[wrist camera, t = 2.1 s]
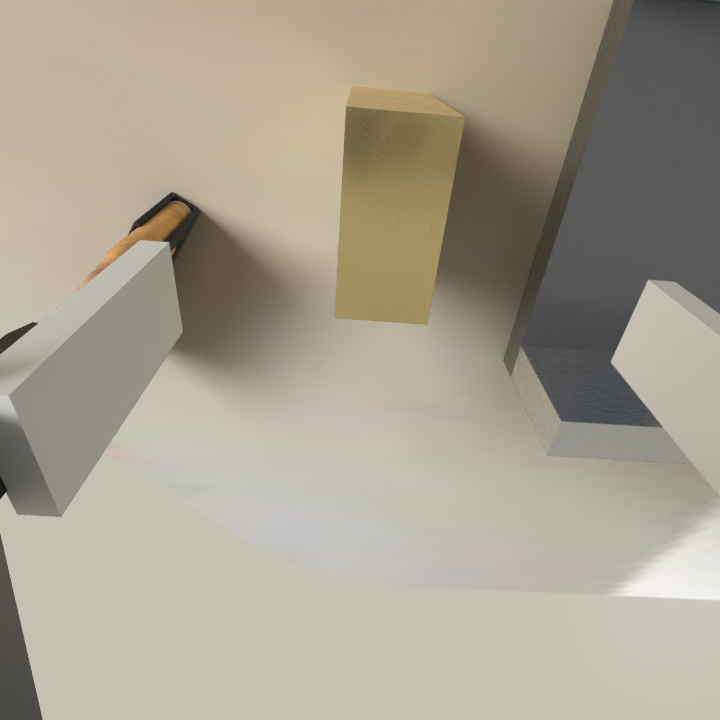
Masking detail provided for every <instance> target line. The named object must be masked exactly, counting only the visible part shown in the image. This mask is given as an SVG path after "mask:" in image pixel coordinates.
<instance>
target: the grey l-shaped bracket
mask: <svg viewBox="0 0 720 720" xmlns="http://www.w3.org/2000/svg"><path fill="white" fill-rule="evenodd" d="M648 280H659V281H671V282H676V283H677V284H679V285H680V286H682V287H683V288H684V289H686V290H687V291H689V292H690V293H691V294H693V295H694V296H695V297H697V298H698V299H700V300H701V301H702V302H704V303H705V304H706V305H708V306H709V307H711V308H712V309H713V310H715V311H716V312H718V313H719V314H720V2H718V1H709V0H614V2H613V5H612V8H611V12H610V15H609V18H608V21H607V25H606V28H605V31H604V34H603V38H602V41H601V44H600V47H599V51H598V54H597V57H596V60H595V64H594V67H593V70H592V73H591V77H590V80H589V83H588V87H587V90H586V93H585V96H584V100H583V103H582V106H581V109H580V113H579V116H578V119H577V122H576V126H575V129H574V132H573V135H572V139H571V142H570V145H569V148H568V152H567V155H566V158H565V161H564V165H563V168H562V171H561V174H560V178H559V181H558V184H557V187H556V191H555V194H554V197H553V200H552V204H551V207H550V210H549V214H548V217H547V220H546V223H545V227H544V230H543V233H542V236H541V240H540V243H539V246H538V249H537V253H536V256H535V259H534V262H533V266H532V269H531V272H530V275H529V279H528V282H527V285H526V288H525V292H524V295H523V298H522V301H521V305H520V308H519V311H518V314H517V318H516V321H515V324H514V327H513V331H512V334H511V337H510V341H509V344H508V347H507V350H506V354H505V357H504V360H503V361H504V363H505V365H506V367H507V369H508V372H509V374H510V376H511V378H512V380H513V383H514V385H515V387H516V389H517V391H518V394H519V396H520V398H521V400H522V402H523V405H524V407H525V409H526V411H527V413H528V415H529V418H530V420H531V422H532V424H533V426H534V429H535V431H536V433H537V435H538V437H539V440H540V442H541V444H542V446H543V448H544V451H545V453H546V455H547V456H563V457H580V458H597V459H614V460H631V461H648V462H665V463H682V464H693V463H692V462H691V461H690V460H689V459H688V457H687V456H686V455H685V454H684V452H683V451H682V450H681V449H680V447H679V446H678V445H677V444H676V442H675V441H674V440H673V439H672V437H671V436H670V435H669V434H668V433H667V431H666V430H665V429H664V428H663V426H662V425H661V424H660V423H659V421H658V420H657V419H656V418H655V416H654V415H653V414H652V413H651V411H650V410H649V409H648V408H647V407H646V405H645V404H644V403H643V402H642V400H641V399H640V398H639V397H638V395H637V394H636V393H635V392H634V390H633V389H632V388H631V387H630V385H629V384H628V383H627V382H626V381H625V379H624V378H623V377H622V376H621V374H620V373H619V372H618V371H617V369H616V368H615V367H614V366H613V364H612V363H611V360H612V358H613V356H614V354H615V351H616V349H617V347H618V345H619V343H620V340H621V338H622V336H623V334H624V332H625V329H626V327H627V325H628V323H629V321H630V319H631V316H632V314H633V312H634V310H635V308H636V305H637V303H638V301H639V299H640V297H641V294H642V292H643V290H644V288H645V286H646V284H647V281H648Z"/></svg>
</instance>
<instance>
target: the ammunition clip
mask: <svg viewBox="0 0 720 720" xmlns="http://www.w3.org/2000/svg"><path fill="white" fill-rule="evenodd" d="M199 213H200V211H199V209H197V208H196V207H194V206H193V205H191V204H190V203H188V202H187V201H185V200H184V199H182V198H181V197H179V196H177V195H176V194H174V193H173V192H172V193H170V194H169V195H167V196H166V197H165V198H164V199H162V200H161V201H160V202H159V203H157V204H156V205H155V206H154V207H152V208H151V209H150V210H149V211H148V212H146V213H145V214H144V215H143V216H141V217H140V218H139V219H138V220H136V221H135V222H134V223H133V225H132V228H131V230H130V232H129V234H128V236H126V237H125V238H124V239H123V240H122V241H120V242H119V243H118V244H117V245H115V246H114V247H113V248H112V249H111V250H110V251H109V252H108V253H107V255H106V257H105V259H104V260H103V261H102V262H101V263H100V264H99V265H98V266H97V267H96V269H95V270H94V271H93V272H91V273H90V274H89V275H88V276H87V277H86V278H85V280H84V281H83V282H82V283H81V285H80V287H79V288H78V290H80V289H81V288H82V287H83V286H85V285H86V284H87V283H88V282H89V281H91V280H92V279H93V278H94V277H96V276H97V275H98V274H99V273H100V272H102V271H103V270H104V269H105V268H107V267H108V266H109V265H110V264H111V263H113V262H114V261H115V260H116V259H118V258H119V257H120V256H121V255H122V254H124V253H125V252H126V251H127V250H129V249H130V248H131V247H132V246H133V245H135V244H136V243H137V242H138V241H140V240H146V241H159V242H169V244H170V250H171V257H172V263H173V262H174V260H175V258H176V256H177V255H178V253H179V251H180V249H181V247H182V245H183V243H184V241H185V240H186V238H187V236H188V234H189V232H190V230H191V228H192V226H193V225H194V223H195V221H196V219H197V217H198V215H199ZM78 290H77V291H78Z"/></svg>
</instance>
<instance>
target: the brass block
mask: <svg viewBox="0 0 720 720" xmlns="http://www.w3.org/2000/svg"><path fill="white" fill-rule="evenodd" d="M464 122H465V117H464V116H463V115H461V114H460V113H458V112H457V111H455V110H454V109H452V108H450V107H449V106H447V105H446V104H444V103H443V102H441V101H440V100H438V99H437V98H435V97H434V96H432V95H431V94H429V93H418V92H407V91H396V90H385V89H374V88H363V87H351V91H350V94H349V98H348V102H347V105H346V119H345V138H344V156H343V174H342V193H341V211H340V230H339V248H338V267H337V285H336V303H335V318H342V319H356V320H370V321H384V322H398V323H413V324H427V322H428V317H429V312H430V306H431V301H432V295H433V290H434V284H435V279H436V274H437V268H438V263H439V257H440V252H441V246H442V241H443V236H444V230H445V225H446V219H447V214H448V208H449V203H450V198H451V192H452V187H453V181H454V176H455V170H456V165H457V160H458V154H459V149H460V143H461V138H462V132H463V127H464Z"/></svg>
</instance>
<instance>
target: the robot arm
mask: <svg viewBox="0 0 720 720" xmlns="http://www.w3.org/2000/svg"><path fill="white" fill-rule="evenodd" d="M182 333H183V328H182V322H181V315H180V309H179V302H178V296H177V289H176V283H175V276H174V270H173V263H172V257H171V250H170V244H169V242H159V241H146V240H140V241H138V242H137V243H136V244H135V245H133V246H132V247H131V248H130V249H129V250H127V251H126V252H125V253H124V254H122V255H121V256H120V257H119V258H118V259H116V260H115V261H114V262H113V263H111V264H110V265H109V266H108V267H107V268H105V269H104V270H103V271H102V272H100V273H99V274H98V275H97V276H96V277H94V278H93V279H92V280H91V281H89V282H88V283H87V284H86V285H85V286H83V287H82V288H81V289H80V290H78V291H77V292H76V293H75V294H74V295H72V296H71V297H70V298H69V299H67V300H66V301H65V302H64V303H63V304H61V305H60V306H59V307H58V308H56V309H55V310H54V311H53V312H52V313H50V314H49V315H48V316H47V317H45V318H44V319H43V320H42V321H41V322H39V323H34V322H32V323H30V324H28V325H26V326H23V327H21V328H19V329H17V330H15V331H12V332H10V333H8V334H6V335H5V336H4V337H2V338H1V339H0V499H1V498H2V496H3V495H4V494H5V493H7V495H8V497H9V499H10V501H11V503H12V505H13V507H14V509H15V511H16V513H17V514H20V515H38V516H56V517H61V516H62V515H63V513H64V511H65V510H66V509H67V507H68V506H69V504H70V503H71V501H72V500H73V498H74V497H75V495H76V493H77V492H78V490H79V489H80V487H81V486H82V484H83V483H84V481H85V480H86V478H87V477H88V475H89V474H90V472H91V471H92V469H93V468H94V466H95V465H96V463H97V462H98V460H99V459H100V457H101V456H102V454H103V453H104V451H105V450H106V448H107V446H108V445H109V443H110V442H111V440H112V439H113V437H114V436H115V434H116V433H117V431H118V430H119V428H120V427H121V425H122V424H123V422H124V421H125V419H126V418H127V416H128V415H129V413H130V412H131V410H132V409H133V407H134V405H135V404H136V402H137V401H138V399H139V398H140V396H141V395H142V393H143V392H144V390H145V389H146V387H147V386H148V384H149V383H150V381H151V380H152V378H153V377H154V375H155V374H156V372H157V371H158V369H159V367H160V366H161V364H162V363H163V361H164V360H165V358H166V357H167V355H168V354H169V352H170V351H171V349H172V348H173V346H174V345H175V343H176V342H177V340H178V339H179V337H180V336H181V334H182ZM611 363H612V364H613V366H614V367H615V368H616V369H617V371H618V372H619V373H620V374H621V376H622V377H623V378H624V379H625V381H626V382H627V383H628V384H629V385H630V387H631V388H632V389H633V390H634V392H635V393H636V394H637V395H638V397H639V398H640V399H641V400H642V402H643V403H644V404H645V405H646V407H647V408H648V409H649V410H650V411H651V413H652V414H653V415H654V416H655V418H656V419H657V420H658V421H659V423H660V424H661V425H662V426H663V428H664V429H665V430H666V431H667V433H668V434H669V435H670V436H671V437H672V439H673V440H674V441H675V442H676V444H677V445H678V446H679V447H680V449H681V450H682V451H683V452H684V454H685V455H686V456H687V457H688V459H689V460H690V461H691V462H692V463H693V465H694V466H695V467H696V468H697V470H698V471H699V472H700V473H701V475H702V476H703V477H704V478H705V480H706V481H707V482H708V483H709V485H710V486H711V487H712V488H713V490H714V491H715V492H716V493H717V494H718V496H719V497H720V314H719V313H718V312H716V311H715V310H713V309H712V308H711V307H709V306H708V305H706V304H705V303H704V302H702V301H701V300H700V299H698V298H697V297H695V296H694V295H693V294H691V293H690V292H689V291H687V290H686V289H684V288H683V287H682V286H680V285H679V284H677V283H676V282H671V281H659V280H648V281H647V284H646V286H645V288H644V290H643V292H642V294H641V297H640V299H639V301H638V303H637V305H636V308H635V310H634V312H633V314H632V316H631V319H630V321H629V323H628V325H627V327H626V329H625V332H624V334H623V336H622V338H621V340H620V343H619V345H618V347H617V349H616V351H615V354H614V356H613V358H612V360H611ZM0 720H42V715H41V711H40V706H39V702H38V698H37V693H36V689H35V684H34V680H33V676H32V671H31V667H30V662H29V658H28V654H27V649H26V645H25V641H24V636H23V632H22V627H21V623H20V619H19V615H18V610H17V605H16V601H15V597H14V592H13V588H12V583H11V579H10V574H9V570H8V566H7V561H6V557H5V553H4V548H3V544H2V540H1V535H0Z"/></svg>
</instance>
